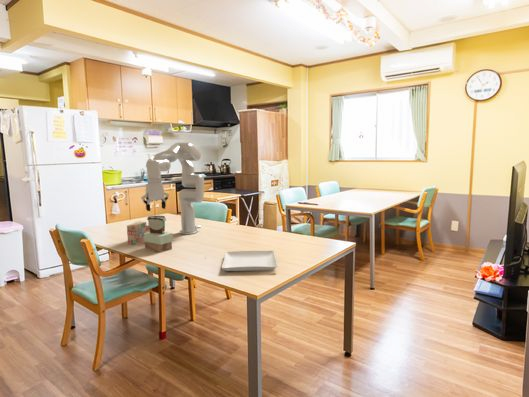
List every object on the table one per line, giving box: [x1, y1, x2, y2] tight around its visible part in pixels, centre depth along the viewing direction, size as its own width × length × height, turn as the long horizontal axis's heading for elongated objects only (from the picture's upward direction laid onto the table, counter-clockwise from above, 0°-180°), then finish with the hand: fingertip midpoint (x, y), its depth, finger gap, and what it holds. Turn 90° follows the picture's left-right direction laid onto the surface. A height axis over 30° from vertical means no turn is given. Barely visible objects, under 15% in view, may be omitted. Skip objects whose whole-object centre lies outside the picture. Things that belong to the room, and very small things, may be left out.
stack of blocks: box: [126, 221, 150, 245], centre depth 224 cm, size 21×6×12 cm, turn 168°
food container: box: [147, 215, 167, 234], centre depth 204 cm, size 12×6×10 cm, turn 68°
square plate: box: [221, 250, 278, 272], centre depth 175 cm, size 27×27×4 cm
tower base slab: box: [144, 241, 173, 253], centre depth 204 cm, size 9×15×5 cm, turn 49°
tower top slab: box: [143, 231, 174, 245], centre depth 204 cm, size 9×15×5 cm, turn 57°
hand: (156, 209), depth 201 cm, fingers open, 9 cm apart
